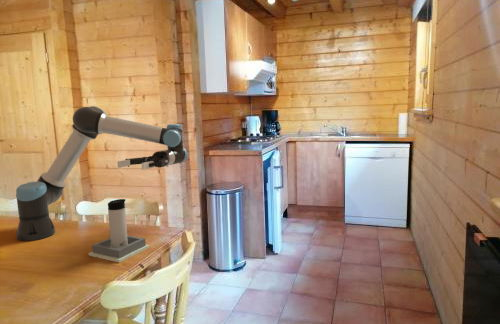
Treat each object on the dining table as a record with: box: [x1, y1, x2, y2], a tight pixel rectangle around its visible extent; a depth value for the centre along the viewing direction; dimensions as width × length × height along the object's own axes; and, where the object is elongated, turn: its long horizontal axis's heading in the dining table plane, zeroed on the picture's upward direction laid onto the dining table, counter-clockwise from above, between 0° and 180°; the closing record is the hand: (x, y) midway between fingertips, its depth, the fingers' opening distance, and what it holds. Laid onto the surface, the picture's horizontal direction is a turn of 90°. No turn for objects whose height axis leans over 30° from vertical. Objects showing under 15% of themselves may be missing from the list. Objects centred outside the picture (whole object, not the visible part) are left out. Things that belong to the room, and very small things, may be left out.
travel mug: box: [107, 198, 128, 249], centre depth 145 cm, size 6×7×20 cm
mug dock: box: [88, 234, 150, 264], centre depth 146 cm, size 16×16×4 cm
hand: (130, 165), depth 156 cm, fingers open, 13 cm apart
